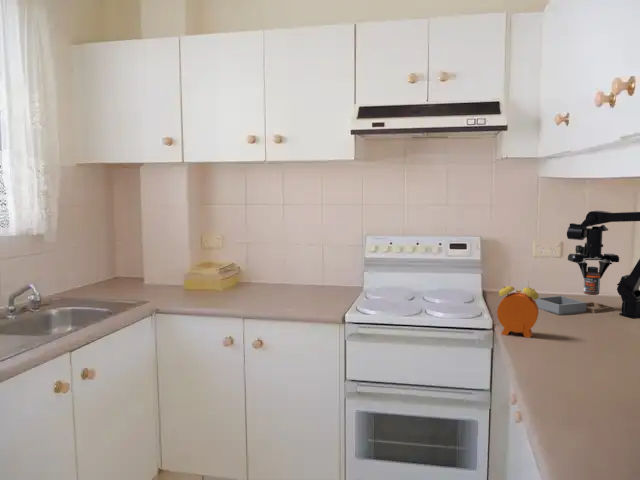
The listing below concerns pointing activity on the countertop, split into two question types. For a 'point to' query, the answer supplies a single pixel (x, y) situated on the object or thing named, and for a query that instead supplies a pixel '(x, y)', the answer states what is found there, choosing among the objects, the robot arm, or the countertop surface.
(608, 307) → the tan wooden square frame
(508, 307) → the alarm clock
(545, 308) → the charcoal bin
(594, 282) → the supplement bottle
